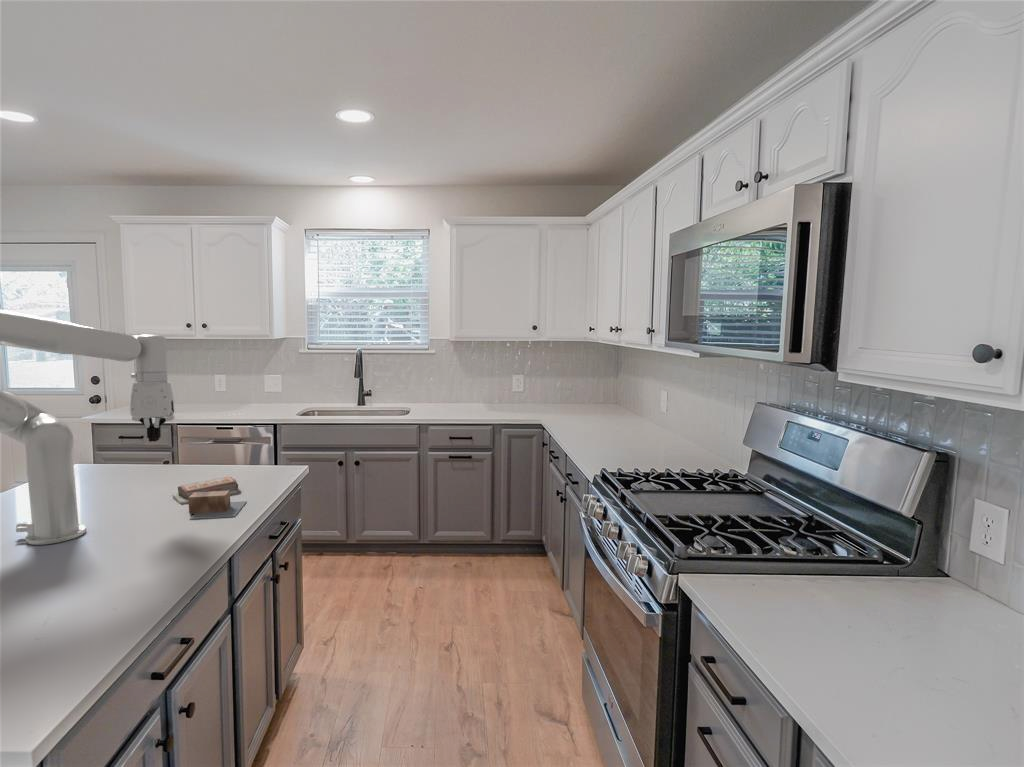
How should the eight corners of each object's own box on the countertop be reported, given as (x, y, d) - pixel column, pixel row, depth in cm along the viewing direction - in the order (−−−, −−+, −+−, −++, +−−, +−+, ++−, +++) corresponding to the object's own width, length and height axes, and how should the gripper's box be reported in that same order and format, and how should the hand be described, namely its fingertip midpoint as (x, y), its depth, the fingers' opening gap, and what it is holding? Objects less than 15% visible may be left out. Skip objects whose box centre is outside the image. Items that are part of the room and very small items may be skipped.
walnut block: (188, 497, 168) (225, 495, 170) (194, 492, 173) (229, 490, 175) (189, 513, 168) (226, 511, 170) (194, 508, 173) (230, 506, 175)
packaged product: (229, 473, 197) (240, 479, 190) (230, 487, 197) (241, 494, 190) (170, 484, 184) (180, 490, 177) (171, 498, 185) (180, 506, 178)
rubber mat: (189, 519, 164) (189, 518, 164) (205, 504, 178) (205, 503, 178) (234, 516, 167) (234, 515, 167) (246, 502, 180) (246, 501, 180)
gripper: (116, 378, 159) (119, 443, 161) (175, 379, 162) (177, 442, 164) (129, 376, 167) (131, 438, 168) (185, 376, 170) (186, 438, 171)
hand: (154, 440), depth 166 cm, fingers closed
